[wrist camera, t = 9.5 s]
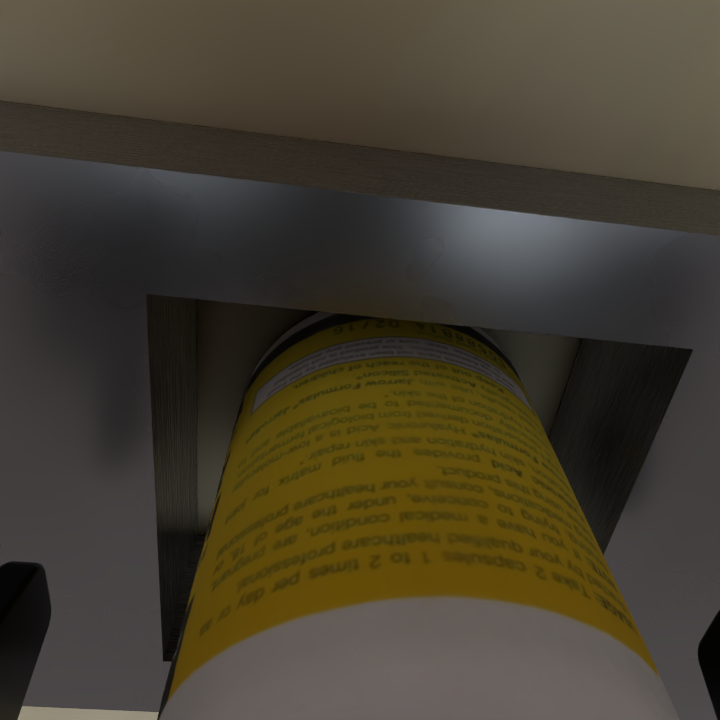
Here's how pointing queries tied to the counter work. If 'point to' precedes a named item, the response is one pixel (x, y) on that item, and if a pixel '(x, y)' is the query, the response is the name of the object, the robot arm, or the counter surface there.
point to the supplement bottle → (401, 547)
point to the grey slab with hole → (335, 295)
